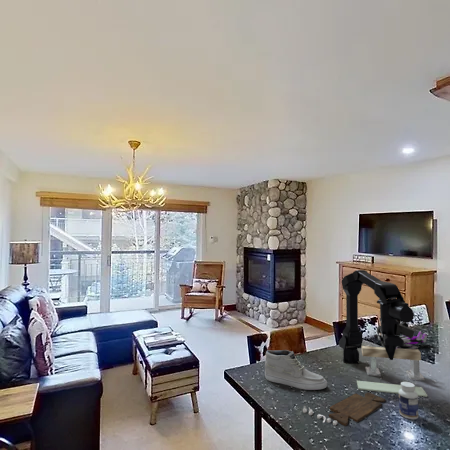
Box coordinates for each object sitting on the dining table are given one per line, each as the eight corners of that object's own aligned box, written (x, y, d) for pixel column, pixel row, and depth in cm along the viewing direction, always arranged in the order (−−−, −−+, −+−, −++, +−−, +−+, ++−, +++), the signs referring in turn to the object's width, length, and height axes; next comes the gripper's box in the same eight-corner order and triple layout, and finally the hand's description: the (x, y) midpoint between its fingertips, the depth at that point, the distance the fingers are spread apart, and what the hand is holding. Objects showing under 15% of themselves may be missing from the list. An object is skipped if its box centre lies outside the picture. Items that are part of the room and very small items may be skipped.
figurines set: (338, 424, 100) (337, 414, 100) (333, 428, 98) (333, 418, 98) (303, 410, 109) (303, 401, 109) (299, 413, 107) (298, 404, 107)
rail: (362, 356, 126) (362, 348, 126) (361, 353, 129) (361, 345, 129) (421, 360, 121) (420, 352, 121) (418, 357, 124) (418, 349, 124)
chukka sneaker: (325, 393, 120) (324, 360, 121) (260, 382, 131) (260, 351, 131) (328, 384, 128) (327, 353, 129) (267, 373, 139) (267, 345, 140)
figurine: (444, 340, 164) (397, 346, 157) (444, 353, 165) (397, 360, 157) (406, 324, 187) (364, 329, 180) (406, 336, 187) (364, 342, 180)
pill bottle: (395, 411, 107) (394, 381, 108) (411, 410, 107) (410, 380, 108) (406, 420, 102) (405, 388, 102) (422, 419, 102) (421, 387, 103)
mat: (358, 389, 123) (358, 388, 123) (356, 381, 130) (356, 380, 130) (427, 397, 117) (427, 395, 117) (421, 388, 123) (421, 387, 123)
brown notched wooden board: (321, 417, 105) (349, 430, 98) (320, 411, 106) (349, 425, 98) (362, 392, 122) (389, 402, 114) (362, 388, 122) (389, 397, 114)
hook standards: (367, 375, 136) (366, 352, 137) (365, 369, 143) (364, 346, 143) (424, 380, 130) (423, 356, 131) (419, 374, 137) (418, 351, 137)
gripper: (419, 323, 115) (421, 369, 114) (405, 313, 133) (407, 352, 132) (384, 321, 118) (386, 366, 117) (375, 311, 136) (377, 350, 135)
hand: (390, 358), depth 125 cm, fingers closed on rail, 3 cm apart
